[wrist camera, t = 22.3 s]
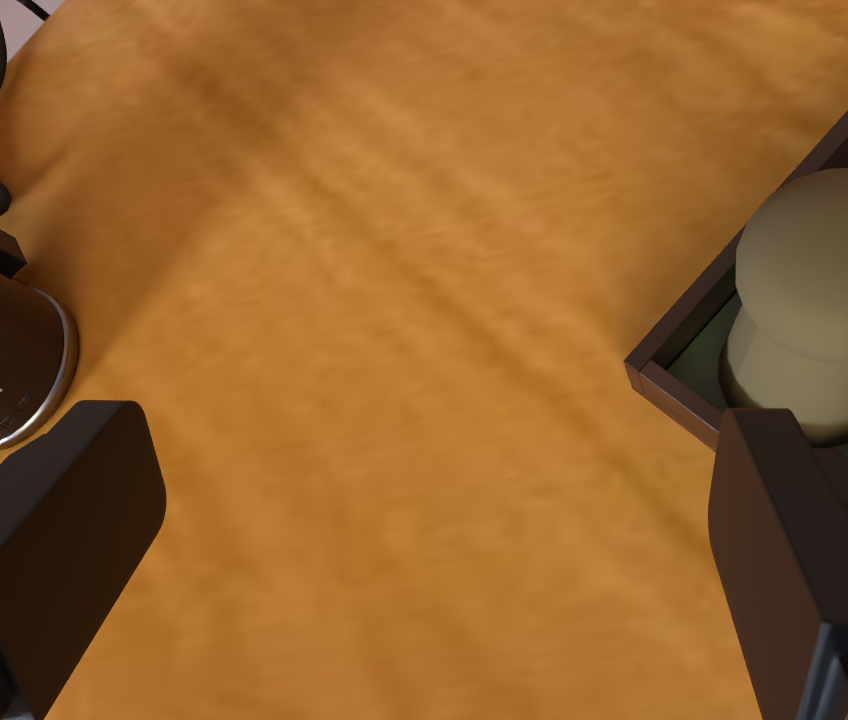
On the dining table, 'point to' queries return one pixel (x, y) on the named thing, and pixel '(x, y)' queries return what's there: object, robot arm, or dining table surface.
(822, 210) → the pawn
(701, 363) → the compartment tray
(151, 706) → the dining table surface
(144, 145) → the dining table surface
